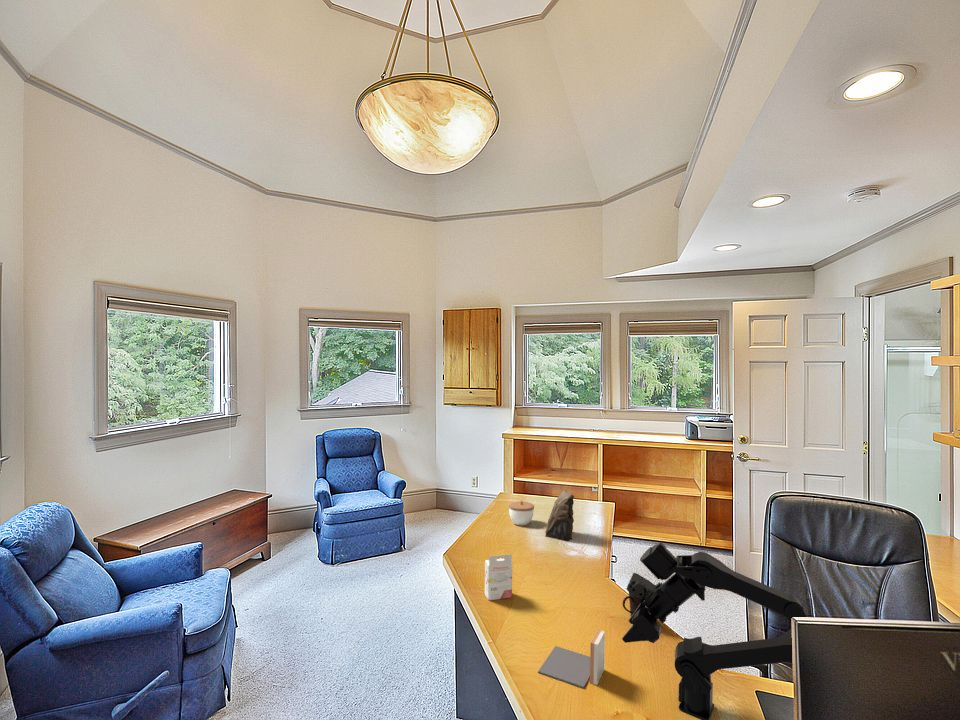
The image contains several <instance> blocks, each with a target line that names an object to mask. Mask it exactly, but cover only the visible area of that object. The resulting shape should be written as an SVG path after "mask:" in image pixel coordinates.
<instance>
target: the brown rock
mask: <svg viewBox="0 0 960 720" xmlns="http://www.w3.org/2000/svg"><path fill="white" fill-rule="evenodd" d="M561 491H562V492H561V493H560V494H559V495H558V497H557V499H556V500H555V501H554V504H553V507H552V510H551V512H550V515H549V517H548V521H547V524H546V529H545V533H544V534H545V535H544V537H546V538H550V539H555V540H559V541H563V542H570V541H571V540H573V537H572V535H573V531H574V510H573V507H574V506H573V505H574V498H575V496H574V495H573V494H572V493H569V492H567V490H565V489H563V490H561Z"/></svg>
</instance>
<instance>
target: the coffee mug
mask: <svg viewBox="0 0 960 720" xmlns="http://www.w3.org/2000/svg"><path fill="white" fill-rule="evenodd" d="M627 600H629V608H630V609H627V607H626V604H625V603H626V601H627ZM639 605H640V598H639V597H637V596H635V595H634V594H632V593H630V592H628V596H626V597H624V599H623V600H622V608H623V610H625V611H627V612H628V613H630V617H631V616H632V615H633V613H634V612H635V610H636V609H637V608H638V606H639Z"/></svg>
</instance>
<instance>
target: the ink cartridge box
mask: <svg viewBox="0 0 960 720" xmlns="http://www.w3.org/2000/svg"><path fill="white" fill-rule="evenodd" d="M512 558H513V556H512V554H509V553H508V554H499V555H490V556H489V557H488V559H486V560H484V595H485V597H486V599H487V600H488V601H494V600H503V599H511V598H513V563H512V562H513V560H512Z"/></svg>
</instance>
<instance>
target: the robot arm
mask: <svg viewBox="0 0 960 720" xmlns="http://www.w3.org/2000/svg"><path fill="white" fill-rule="evenodd" d="M639 562H641V564H643V565H644V567H646V568H647V570H648V571H649V572H650V573H651V574H652V575H653V576H654V578H656V579H657V580H661V581H663V580H664V582H661V581H660V582H657V584H654V583H652V582H651V580H649V579H647V578H645V577H644V576H643V575H641V574H638V573H637V572H633V573H632V575H631V577H630V580H629V582H628V584H627V586H626V591H627V592H628V593H629V592H630V593H632V594H634V595H635V596H637V597H639V598H640V605H639V606H638V608H637V609H636V610H635V612H634V613H633V615H632V616H631V615H630V617H629V619H628V622H629V623H630V624H631V626H630V627H629V629H628V630H627V631H626V632H625V634H624V635H623V637H621V640H622V641H623V642H624V643H626V644H627V643H636V642H650V643H652V644H654V643H656V642H657V641H658V640H659V639H660V637H661V633H662V627H661V625H660V623H659V622H658V620H659V621H660V622H661V623H662V624H664V623H665V622H666V621H667V617H668V616H669V615H671V614H672V613H673V612H674V614H676V613H678V612H679V609H680V607H681V606H682V605H684V603H686V602H687V601H688V600H690V598H692V597H693V596H694V595H696V596H697V597H698V598H699V599H700V601H703V602H704V601H705V598H706V593H705V592H706V588H708V589H709V588H710V589H713V590H718V591H719V590H722V591H727V592H731V593H733V594H736V595H738V596H740V597H742V598H744V599H746V600H748V601H751V602H753V603H755V604H758V605H760V606H762V607H765V608H767V609H769V610H771V611H774V612H775V613H778V614H780V615H783V616H784V617H786V618H787V620H788V621H789V624H790V625H791V618H792V617H808V615H807V613H806V612H805V608H804V607H803V606H802V603H801V600H800V599H799V598H798V597H796V596H795V595H793V594H788V593H786V592H784V591H781V590H778V589H776V588H775V587H772V586H770V585H767V584H765V583H762V582H760V581H758V580H756V579H753V578H750V577H748V576H747V575H744V574H741V573H739V572H736V571H735V570H733V569H732V568H730V567H728V566H727V565H726V564H725V563H723V562H722V561H721V560H719V559H718V558H716V557H714V556H713V555H711V554H709V553H707V552H705V551H698V552H695V553H694V554H691V555H690V554H688V555H687V554H685V555H676V556H675V555H674V554H673V553H672V552H671V551H670V550H669V549H668V547H666V545H665V544H664V543H663V542H662V541H659V542H658V543H657V544H654V545H652V546H650V547H648V549H647V550H646V551H645V552H644V553H643V554H642V555H641V557H640V559H639ZM783 663H784V664H791V665H793V664H792V638H791V629H789V630H787V631H786V632H785V633H783V634H781V635H780V636H778V637H772V638H764V639H763V638H762V639H754V640H747V641H740V642H730V643H723V644H715V645H713V644H712V645H711V644H708V643H705V642H703V638H702V636H696V637H693V638H687V637H683V640H682V641H679V642H678V643H677V645H676V646H675V650H674V668H675V671H676V672H677V674H678V675H679V676H680V677H681V679H680V681H679V683H678V699H677V700H678V702H679V705H678V709H679V711H682V712H685V713H687V714H688V715H689V714H690V715H692V716H695V717H697V718H699V719H700V720H710V719H711V717H712V713H713V711H714V708H715V704H714V703H713V701H714V700H713V698H714V697H713V696H714V692H713V691H714V688H713V687H714V683H713V682H712V675H713V674H714V673H715V672H717V671H719V670H726V669H727V670H729V669H735V668H746V667H757V666H765V665H775V664H783Z"/></svg>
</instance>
